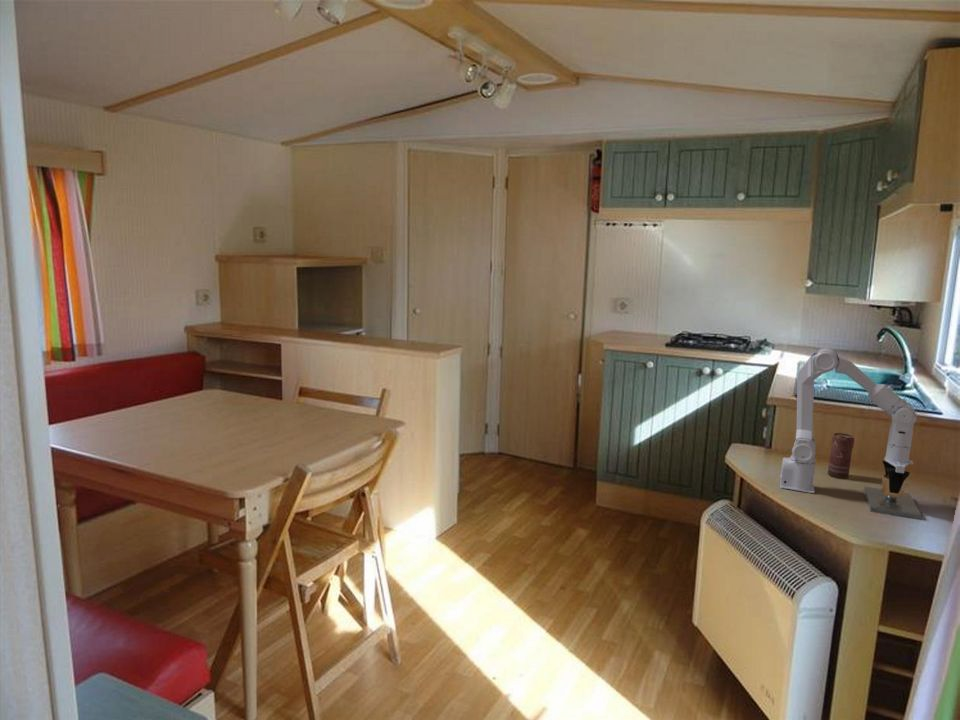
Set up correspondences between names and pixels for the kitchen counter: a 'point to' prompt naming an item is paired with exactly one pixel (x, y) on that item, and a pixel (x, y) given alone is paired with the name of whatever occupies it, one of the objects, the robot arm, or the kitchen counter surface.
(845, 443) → the can
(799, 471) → the robot arm
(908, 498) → the piston jig
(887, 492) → the tan cup
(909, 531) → the kitchen counter surface
